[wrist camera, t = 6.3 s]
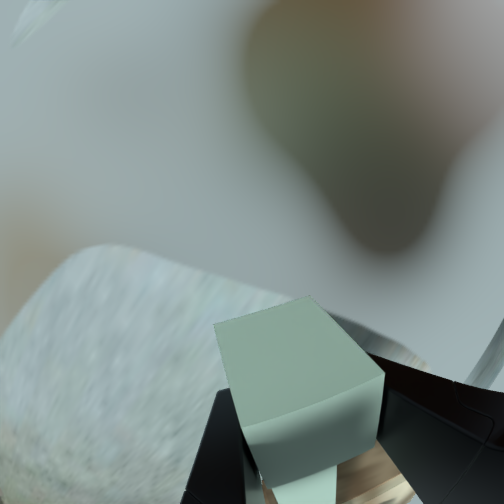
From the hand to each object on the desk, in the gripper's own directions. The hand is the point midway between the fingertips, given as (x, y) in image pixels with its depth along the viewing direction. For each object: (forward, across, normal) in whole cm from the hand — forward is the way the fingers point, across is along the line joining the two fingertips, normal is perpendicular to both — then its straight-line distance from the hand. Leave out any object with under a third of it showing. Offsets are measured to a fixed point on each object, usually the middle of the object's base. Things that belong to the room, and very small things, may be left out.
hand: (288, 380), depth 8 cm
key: (+2, 0, +9) cm, 9 cm away
